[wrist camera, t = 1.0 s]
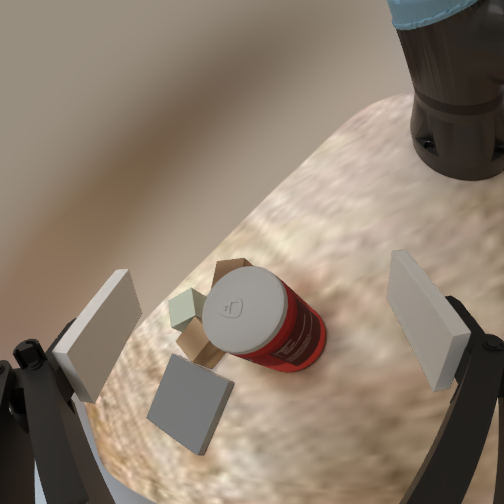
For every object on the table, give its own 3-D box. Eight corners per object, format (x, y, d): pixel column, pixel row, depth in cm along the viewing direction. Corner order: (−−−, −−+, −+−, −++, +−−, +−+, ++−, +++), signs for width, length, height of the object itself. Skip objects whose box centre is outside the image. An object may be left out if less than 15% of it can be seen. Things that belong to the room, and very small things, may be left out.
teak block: (214, 326, 41) (194, 316, 38) (232, 344, 38) (212, 335, 35) (196, 349, 40) (175, 341, 37) (212, 368, 38) (191, 362, 35)
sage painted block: (187, 310, 44) (168, 300, 41) (210, 298, 43) (191, 287, 40) (191, 336, 42) (171, 327, 39) (215, 324, 41) (195, 315, 38)
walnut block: (234, 274, 43) (217, 261, 40) (260, 272, 41) (244, 257, 38) (229, 302, 41) (210, 291, 38) (256, 301, 39) (238, 289, 36)
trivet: (178, 355, 41) (172, 353, 40) (234, 382, 35) (228, 381, 34) (152, 418, 38) (146, 417, 37) (203, 455, 32) (197, 455, 31)
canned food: (256, 319, 38) (198, 283, 30) (319, 296, 35) (275, 250, 27) (266, 381, 33) (203, 363, 25) (335, 361, 31) (292, 336, 22)
